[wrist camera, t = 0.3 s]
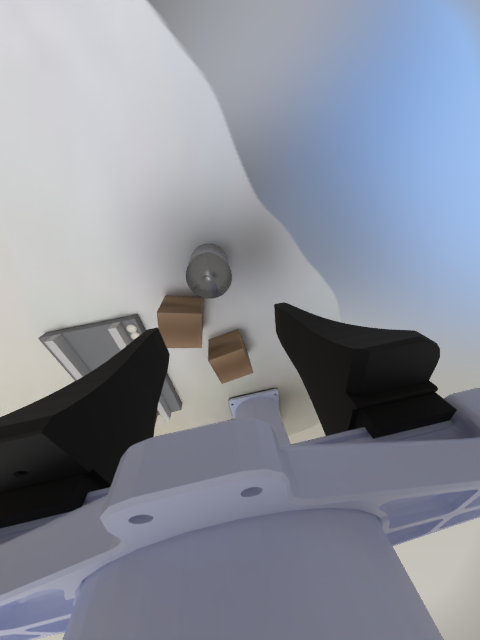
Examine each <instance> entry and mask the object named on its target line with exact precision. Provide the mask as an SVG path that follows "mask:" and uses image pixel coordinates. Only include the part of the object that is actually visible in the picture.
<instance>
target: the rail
mask: <svg viewBox="0 0 480 640" xmlns="http://www.w3.org/2000/svg"><path fill="white" fill-rule="evenodd" d="M145 331H146V330H145V328H144V326H143V324H142V322H141V320H140V318H139V316H138V314H137V315H132V316H127V317H122V318H117V319H112V320H107V321H102V322H98V323H93V324H88V325H83V326H78V327H73V328H68V329H63V330H58V331H53V332H48V333H45V334H43V335H42V336H41V337H39V338H38V339H39V340H40V341H41V342H42V343H43V344H44V346H45V347H46V348H47V349H48V350H49V351H50V353H51V354H52V355H53V356H54V357H55V358H56V359H57V361H58V362H59V363H60V364H61V365H62V366H63V367H64V369H65V370H66V371H67V372H68V373H69V374H70V375H71V377H72V378H73V379H74V380H75V381H76V380H78V379H80V378H82V377H83V376H85V375H87V374H88V373H90V372H91V371H93V370H94V369H96V368H98V367H99V366H100V365H102V364H103V363H105V362H106V361H108V360H109V359H110V358H112V357H113V356H114V355H116V354H117V353H118V352H119V351H121V350H122V349H123V348H125V347H126V346H127V345H128V344H130V343H131V342H132V341H133V340H134V339H136V338H137V337H138V336H139V335H141V334H142V333H143V332H145ZM181 408H182V403H181V401H180V399H179V397H178V395H177V393H176V391H175V389H174V387H173V385H172V383H171V381H170V379H169V377H168V375H167V374H166V377H165V381H164V385H163V388H162V392H161V396H160V399H159V403H158V408H157V410H158V415H161V416H162V418H163V420H164V421H166V420H170V416H171V412H174V411H178V410H181Z"/></svg>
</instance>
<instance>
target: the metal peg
mask: <svg viewBox="0 0 480 640" xmlns="http://www.w3.org/2000/svg"><path fill="white" fill-rule="evenodd" d="M186 280H187V283H188V286H189V287H190V289H191V290H192V291H193V292H194V293H195V294H197V295H198V296H200V297H203V298H216V297H219V296H221V295H222V294H224V293H225V292H226V291H227V290H228V288H229V287H230V284H231V280H232V274H231V270H230V267H229V265H228V262H227V259H226V257H225V254H224V253H223V251H222V250H221V249H220V248H219V247H217V246H215V245H212V244H204V245H201V246H199V247H198V248H197V249H196V250H195V251H194V252H193V254H192V257H191V259H190V262H189V265H188V268H187V271H186Z"/></svg>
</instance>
